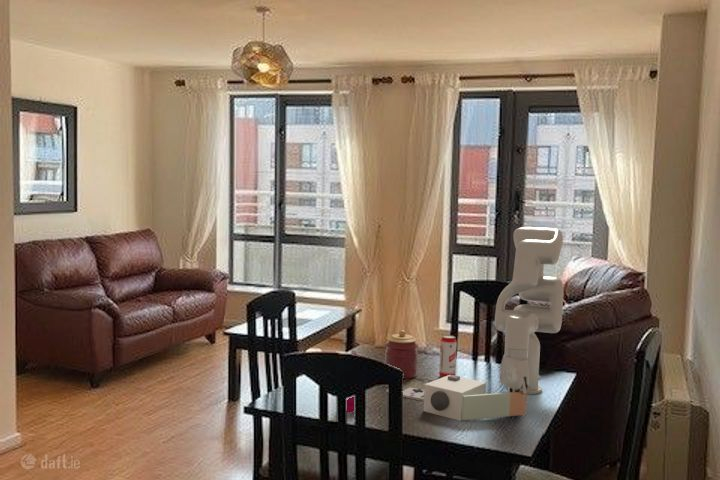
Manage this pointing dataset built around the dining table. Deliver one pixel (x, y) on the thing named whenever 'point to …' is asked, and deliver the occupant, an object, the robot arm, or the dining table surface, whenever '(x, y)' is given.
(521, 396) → the side door
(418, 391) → the handheld gaming console
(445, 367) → the beer can
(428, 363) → the dining table surface
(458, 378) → the block
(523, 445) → the dining table surface
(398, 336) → the canister
